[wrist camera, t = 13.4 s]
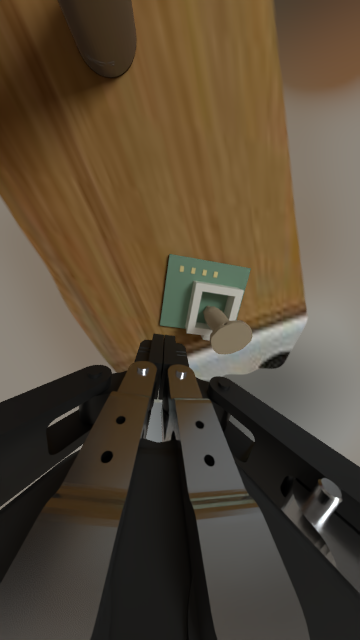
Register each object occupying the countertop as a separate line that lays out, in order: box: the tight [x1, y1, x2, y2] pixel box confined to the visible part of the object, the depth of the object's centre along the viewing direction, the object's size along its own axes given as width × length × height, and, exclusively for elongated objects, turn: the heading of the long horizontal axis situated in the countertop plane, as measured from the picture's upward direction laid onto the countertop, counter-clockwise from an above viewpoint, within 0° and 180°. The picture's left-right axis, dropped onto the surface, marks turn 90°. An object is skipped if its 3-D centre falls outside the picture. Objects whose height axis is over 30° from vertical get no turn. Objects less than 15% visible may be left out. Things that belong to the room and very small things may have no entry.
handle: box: [203, 306, 252, 354], centre depth 34 cm, size 5×6×15 cm
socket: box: [185, 281, 244, 340], centre depth 39 cm, size 12×10×4 cm
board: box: [160, 254, 251, 329], centre depth 40 cm, size 16×18×1 cm
